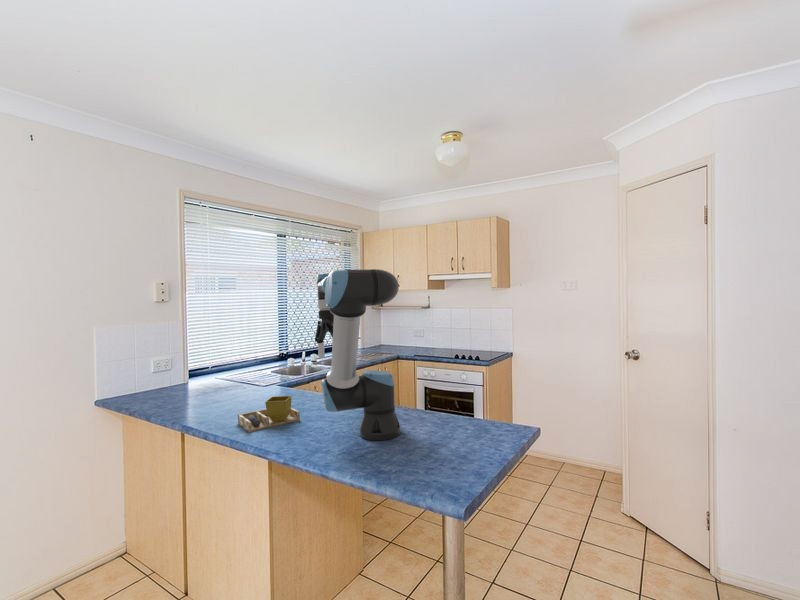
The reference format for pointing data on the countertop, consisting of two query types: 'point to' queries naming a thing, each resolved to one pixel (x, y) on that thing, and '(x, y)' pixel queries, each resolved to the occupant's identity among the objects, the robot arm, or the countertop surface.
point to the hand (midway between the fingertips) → (329, 359)
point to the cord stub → (253, 420)
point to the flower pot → (278, 407)
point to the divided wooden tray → (265, 419)
